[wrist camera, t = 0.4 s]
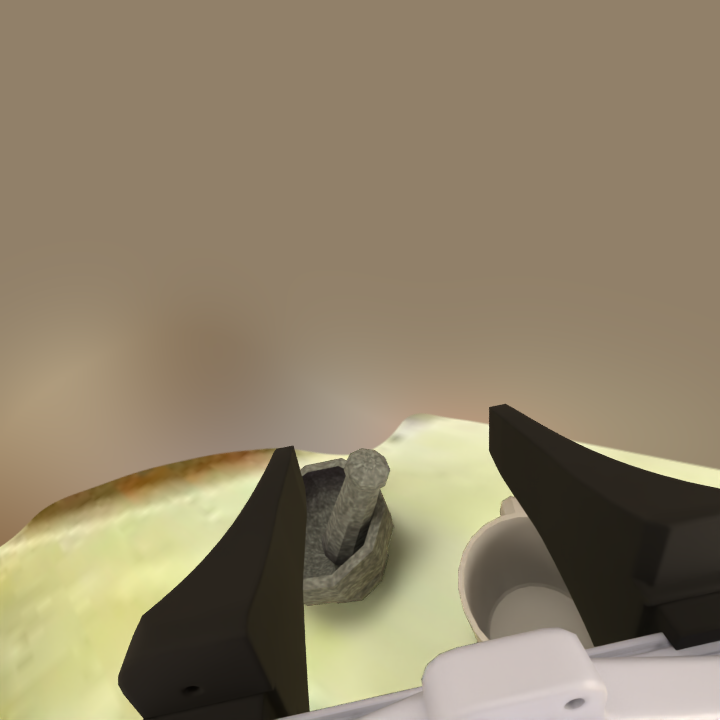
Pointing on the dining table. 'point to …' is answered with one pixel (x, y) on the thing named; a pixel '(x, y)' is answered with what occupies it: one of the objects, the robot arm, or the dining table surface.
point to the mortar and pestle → (345, 528)
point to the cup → (514, 581)
